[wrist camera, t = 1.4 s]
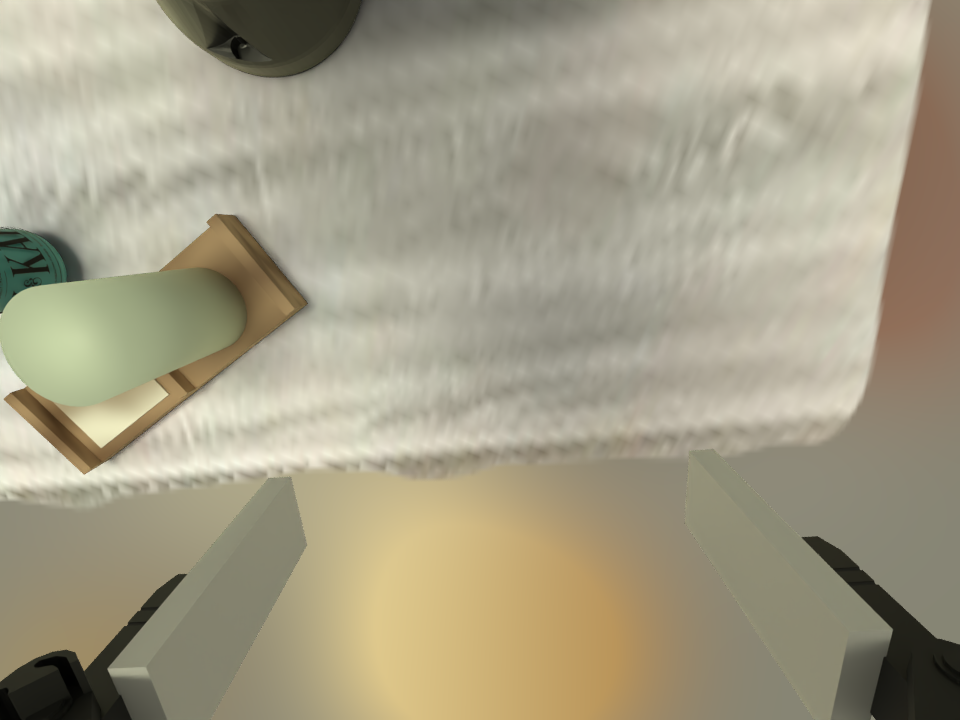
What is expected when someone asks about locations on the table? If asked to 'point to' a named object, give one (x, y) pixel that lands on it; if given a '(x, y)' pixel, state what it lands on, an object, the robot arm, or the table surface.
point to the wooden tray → (129, 414)
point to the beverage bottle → (26, 263)
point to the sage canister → (117, 331)
